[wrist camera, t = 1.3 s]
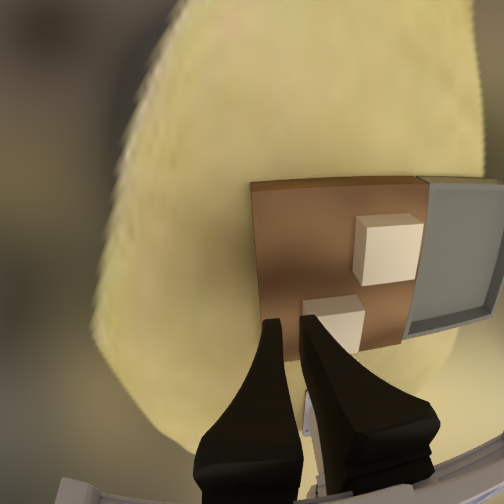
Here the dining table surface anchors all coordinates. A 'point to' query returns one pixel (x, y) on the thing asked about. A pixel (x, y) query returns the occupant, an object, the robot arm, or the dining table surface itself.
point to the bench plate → (328, 250)
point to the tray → (459, 255)
